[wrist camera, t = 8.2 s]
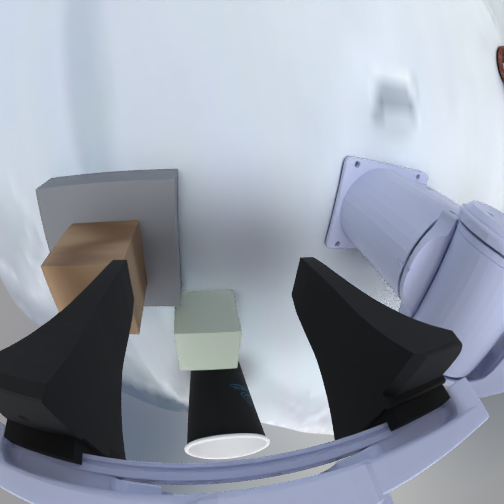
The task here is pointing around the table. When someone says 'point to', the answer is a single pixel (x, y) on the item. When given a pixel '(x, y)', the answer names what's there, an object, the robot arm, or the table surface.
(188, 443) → the dixie cup
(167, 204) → the grey square slab
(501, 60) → the supplement bottle
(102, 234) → the walnut cube
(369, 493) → the robot arm
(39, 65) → the table surface
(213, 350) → the sage cube
